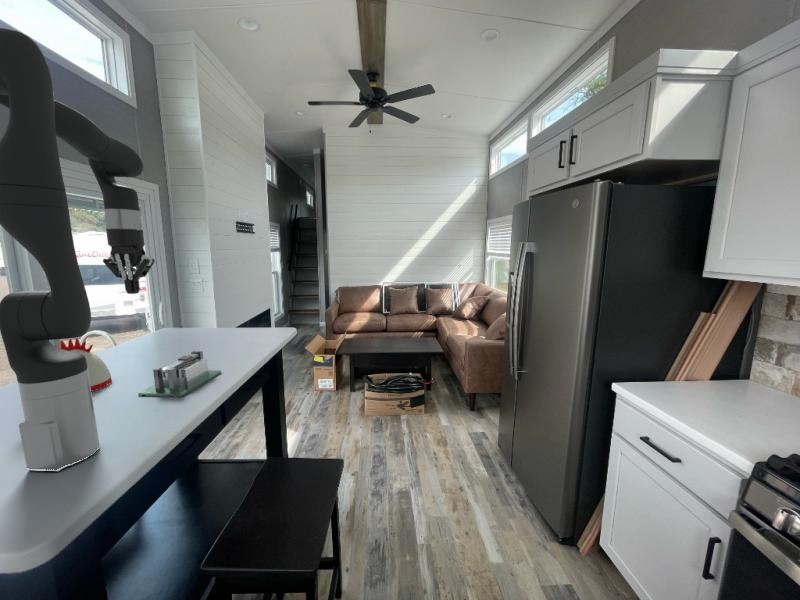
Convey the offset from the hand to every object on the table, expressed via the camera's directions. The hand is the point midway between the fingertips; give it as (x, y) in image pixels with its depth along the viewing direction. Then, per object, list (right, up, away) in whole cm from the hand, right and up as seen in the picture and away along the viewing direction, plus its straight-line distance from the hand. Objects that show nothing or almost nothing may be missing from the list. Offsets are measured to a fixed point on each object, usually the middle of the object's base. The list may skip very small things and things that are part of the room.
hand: (133, 293), depth 88 cm
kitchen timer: (-24, -28, +10) cm, 38 cm away
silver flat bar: (+6, -21, +11) cm, 25 cm away
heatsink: (+6, -27, +12) cm, 30 cm away
